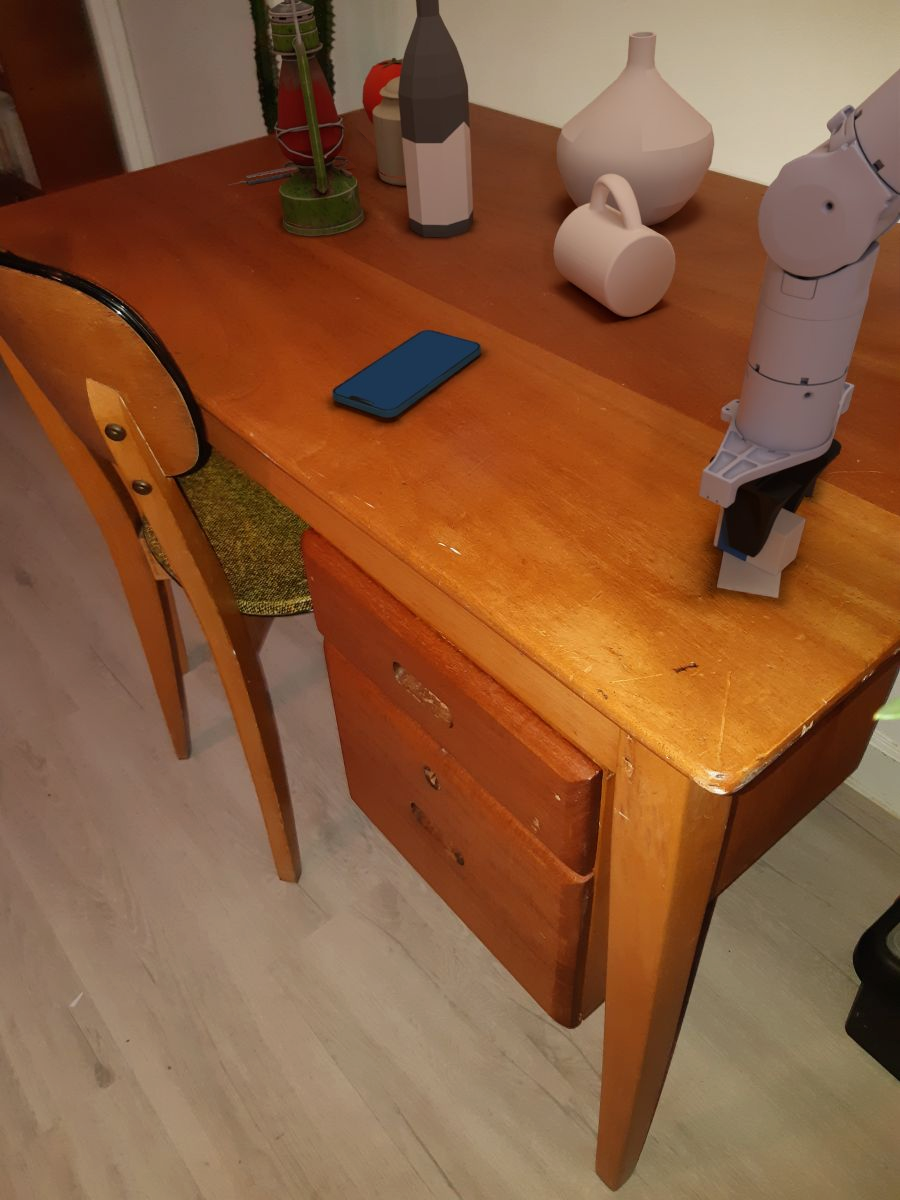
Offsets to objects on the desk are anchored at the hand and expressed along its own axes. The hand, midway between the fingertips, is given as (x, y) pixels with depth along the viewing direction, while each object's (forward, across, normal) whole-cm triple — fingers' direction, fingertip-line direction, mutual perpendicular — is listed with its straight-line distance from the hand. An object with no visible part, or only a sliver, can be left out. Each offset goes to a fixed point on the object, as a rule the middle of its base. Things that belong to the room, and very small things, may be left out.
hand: (756, 538), depth 62 cm
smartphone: (+1, -1, -37) cm, 37 cm away
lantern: (+2, -21, -76) cm, 79 cm away
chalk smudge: (+1, 0, 0) cm, 1 cm away
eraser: (+1, 0, 0) cm, 1 cm away
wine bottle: (+2, -29, -62) cm, 69 cm away
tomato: (+2, -53, -97) cm, 111 cm away
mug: (+2, -26, -33) cm, 42 cm away
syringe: (+2, -28, -93) cm, 97 cm away
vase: (+2, -46, -46) cm, 65 cm away
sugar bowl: (+2, -41, -81) cm, 91 cm away
